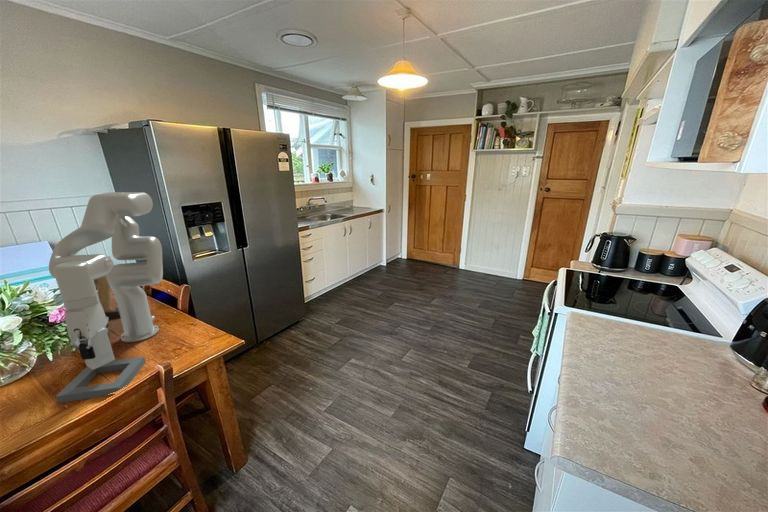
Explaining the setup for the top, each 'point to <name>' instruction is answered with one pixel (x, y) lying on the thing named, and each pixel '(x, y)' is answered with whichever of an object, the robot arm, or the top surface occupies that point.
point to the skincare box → (100, 350)
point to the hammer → (106, 298)
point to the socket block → (81, 391)
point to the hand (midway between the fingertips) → (97, 350)
